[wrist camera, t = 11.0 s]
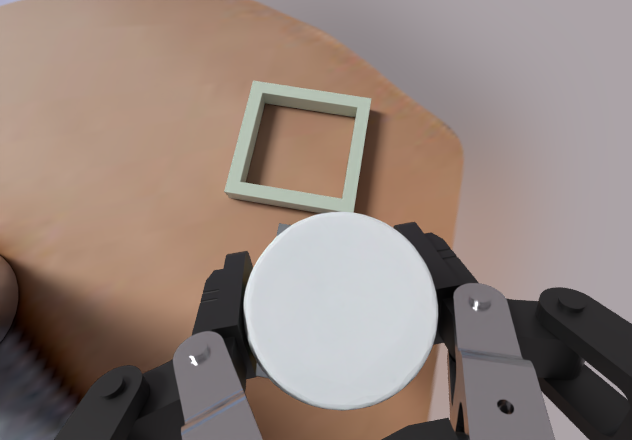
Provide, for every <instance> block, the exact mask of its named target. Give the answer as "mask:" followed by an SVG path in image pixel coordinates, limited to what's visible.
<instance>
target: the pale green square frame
mask: <svg viewBox="0 0 632 440" xmlns="http://www.w3.org/2000/svg"><path fill="white" fill-rule="evenodd" d="M265 103H266V104H273V105H279V106H286V107H292V108H299V109H305V110H312V111H318V112H325V113H331V114H338V115H344V116H351V117H356V118H355V124H354V130H353V136H352V141H351V147H350V153H349V159H348V165H347V171H346V177H345V183H344V189H343V195H342V199H340V198H334V197H328V196H322V195H316V194H310V193H304V192H298V191H293V190H287V189H281V188H275V187H269V186H263V185H257V184H251V183H246V179H247V175H248V171H249V167H250V163H251V159H252V154H253V150H254V146H255V142H256V138H257V134H258V130H259V126H260V122H261V118H262V114H263V110H264V106H265ZM370 103H371V98H364V97H358V96H351V95H345V94H338V93H331V92H325V91H318V90H311V89H305V88H298V87H292V86H285V85H278V84H272V83H265V82H259V81H253V83H252V87H251V91H250V95H249V99H248V103H247V107H246V110H245V114H244V118H243V122H242V126H241V130H240V133H239V137H238V141H237V145H236V149H235V153H234V157H233V160H232V164H231V168H230V172H229V176H228V180H227V183H226V187H225V191H224V192H225V193H226V194H227V195H228V197H229V198H234V199H240V200H245V201H251V202H257V203H263V204H269V205H275V206H281V207H287V208H292V209H298V210H304V211H310V212H316V213H329V212H352V213H353V212H354V206H355V199H356V193H357V186H358V180H359V174H360V167H361V161H362V155H363V148H364V142H365V135H366V129H367V123H368V116H369V110H370Z"/></svg>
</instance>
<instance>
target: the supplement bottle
mask: <svg viewBox="0 0 632 440" xmlns="http://www.w3.org/2000/svg"><path fill="white" fill-rule="evenodd" d="M243 316H244V326H245V332H246V336H247V340H248V343H249V346H250V349H251V351H252V353H253V355H254V357H255V359H256V361H257V363H258V365H259V366H260V368H261V369H262V371H263V372H264V373H265V374H266V375H267V377H268V378H269V379H270V380H271V381H272V382H273V383H274V384H275V385H276V386H277V387H279V388H280V389H281V390H282V391H284V392H285V393H287V394H288V395H290V396H291V397H293V398H295V399H297V400H299V401H301V402H303V403H306V404H308V405H311V406H315V407H319V408H324V409H332V410H354V409H360V408H365V407H370V406H372V405H375V404H378V403H381V402H383V401H385V400H387V399H389V398H390V397H392V396H394V395H395V394H396V393H398V392H399V391H401V390H402V389H403V388H404V387H406V386H407V385H408V384H409V383H410V382H411V381H412V380H413V379H414V378H415V376H416V375H417V374H418V372H419V371H420V370H421V368H422V367H423V365H424V363H425V361H426V359H427V357H428V355H429V354H430V352H431V349H432V346H433V343H434V340H435V336H436V331H437V323H438V302H437V295H436V290H435V286H434V283H433V280H432V276H431V274H430V272H429V269H428V267H427V265H426V264H425V262H424V260H423V258H422V257H421V255H420V254H419V253H418V251H417V250H416V249H415V247H414V246H413V245H412V244H411V243H410V242H409V241H408V240H407V239H406V238H405V237H404V236H403V235H402V234H401V233H399V232H398V231H397V230H395V229H394V228H392V227H391V226H389V225H387V224H386V223H384V222H382V221H380V220H377V219H375V218H372V217H369V216H366V215H363V214H358V213H352V212H329V213H322V214H318V215H314V216H311V217H308V218H306V219H303V220H301V221H299V222H297V223H295V224H293V225H291V226H290V227H288V228H287V229H286V230H284V231H283V232H282V233H280V234H279V235H278V236H277V237H276V238H275V239H274V240H273V241H272V242H271V243H270V245H269V246H268V247H267V248H266V249H265V251H264V252H263V253H262V255H261V256H260V258H259V259H258V261H257V262H256V264H255V266H254V268H253V270H252V272H251V274H250V277H249V280H248V283H247V287H246V291H245V296H244V304H243Z"/></svg>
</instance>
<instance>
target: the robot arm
mask: <svg viewBox="0 0 632 440" xmlns="http://www.w3.org/2000/svg"><path fill="white" fill-rule="evenodd" d="M394 229H395V230H397V231H398V232H399V233H401V234H402V235H403V236H404V237H405V238H406V239H407V240H408V241H409V242H410V243H411V244H412V245H413V246H414V247H415V249H416V250H417V251H418V253H419V254H420V255H421V257H422V258H423V260H424V262H425V264H426V265H427V267H428V269H429V272H430V274H431V276H432V280H433V283H434V286H435V290H436V295H437V302H438V323H437V331H436V336H435V340H434V343H433V345H434V344H439V343H445V345H446V347H447V349H448V355H447V363H448V381H449V382H448V383H449V401H450V420H449V418H445V419H440V420H435V421H429V422H424V423H419V424H414V425H409V426H406V427H404V428H403V429H401V430H399V431H397V432H395V433H393V434H391V435H389V436H387V437H385V438H384V439H382V440H555V437H554V434H553V431H552V427H551V424H550V420H549V417H548V413H547V410H546V406H545V403H544V399H543V396H542V393H541V391H542V392H543V393H544V394H545V395H546V396H547V397H548V398H549V399H550V400H551V401H552V402H553V403H554V404H555V405H556V406H557V407H558V408H559V409H560V410H561V411H562V412H563V413H564V414H565V415H566V416H567V417H568V418H569V420H570V421H571V422H573V423H574V425H575V426H576V427H577V428H579V429H580V431H581V432H582V433H583V434H584V435H585V436H586V437H587V438H588V439H589V440H632V324H631V323H629V322H628V321H626V320H625V319H623V318H621V317H620V316H619V315H617V314H616V313H614V312H612V311H611V310H609V309H608V308H606V307H605V306H603V305H601V304H600V303H599V302H597V301H595V300H594V299H592V298H591V297H589V296H587V295H586V294H584V293H581V292H579V291H576V290H573V289H568V288H550V289H547V290H545V291H543V292H542V293H541V295H540V298H539V301H525V300H512V299H506V298H505V296H504V295H503V294H502V293H501V292H499V291H498V290H496V289H495V288H493V287H491V286H488V285H485V284H480V283H478V282H477V280H476V279H475V278H474V276H473V275H472V274H471V273H470V272H469V270H468V269H467V268H466V267H465V265H464V264H463V263H462V262H461V260H460V259H459V258H457V256H456V254H455V253H454V252H453V251H452V250H451V249H450V247H449V246H448V244H447V243H446V242H445V241H444V240H443V239H442V238H440V237H438V236H437V235H435V234H433V233H426V234H424V233H423V232H422V230H421V229H420V228H419V226H418V225H417V224H416V223H415V222H411V223H405V224H399V225H395V226H394ZM252 270H253V266H252V263H251V259H250V256H249V253H248V251H243V252H238V253H232V254H227V255H226V259H225V264H224V269H220V270H215V271H213V273H212V274H211V275H210V276H209V278H208V279H207V280H206V283H205V286H204V290H203V294H202V298H201V303H200V306H199V309H198V313H197V317H196V321H195V325H194V329H193V332H192V336H191V337H189V338H188V339H186V340H185V341H184V342H183V343H182V344H181V345H180V346H179V347H178V348H177V350H176V352H175V354H174V357H173V359H172V360H171V361H169V362H167V363H165V364H163V365H161V366H159V367H157V368H154V369H152V370H150V371H148V372H146V373H143V374H142V372H141V371H140V370H139V368H137V367H135V366H131V365H127V366H121V367H118V368H115V369H113V370H111V371H109V372H107V373H106V374H104V375H103V376H102V377H100V378H99V379H98V380H97V381H96V382H95V383H94V384H93V385H92V386H91V388H90V389H89V390H88V392H87V393H86V395H85V396H84V397H83V399H82V400H81V402H80V403H79V405H78V406H77V407H76V409H75V410H74V412H73V413H72V415H71V416H70V418H69V419H68V420H67V422H66V423H65V425H64V426H63V428H62V429H61V430H60V432H59V433H58V435H57V436H56V438H55V439H54V440H263V438H262V435H261V433H260V430H259V428H258V425H257V423H256V420H255V418H254V415H253V413H252V410H251V408H250V405H249V403H248V400H247V398H246V395H245V387H246V379H249V378H254V377H256V368H257V361H256V359H255V357H254V355H253V353H252V351H251V349H250V346H249V343H248V340H247V336H246V332H245V326H244V316H243V304H244V296H245V291H246V287H247V283H248V280H249V277H250V274H251V272H252ZM17 304H18V284H17V280H16V276H15V274H14V272H13V270H12V268H11V266H10V265H9V264H8V263H7V262H6V261H5V260H4V259H3V257H1V256H0V342H1V341H2V340H3V338H4V336H5V335H6V333H7V331H8V330H9V328H10V327H11V324H12V321H13V319H14V316H15V314H16V309H17ZM585 361H587V362H588V363H589V364H590V365H592V366H593V367H594V368H595V369H596V370H598V371H599V372H600V373H601V374H602V375H604V376H605V377H606V378H608V379H609V380H610V381H611V382H612V383H614V384H615V385H616V386H617V387H618V388H619V389H620V390H621V391H622V392H623V393H624V394H625V396H626V397H627V399H628V400H627V399H626V398H625V397H623V396H622V395H621V394H620V393H619V392H617V391H616V390H615V389H614V388H613V387H611V386H610V385H609V384H608V383H607V382H605V381H604V380H603V379H602V378H601V377H599V376H598V375H597V374H596V373H594V372H593V371H592V370H591V369H590V368H588V367H587V366H586V365H585V364H584V362H585Z"/></svg>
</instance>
